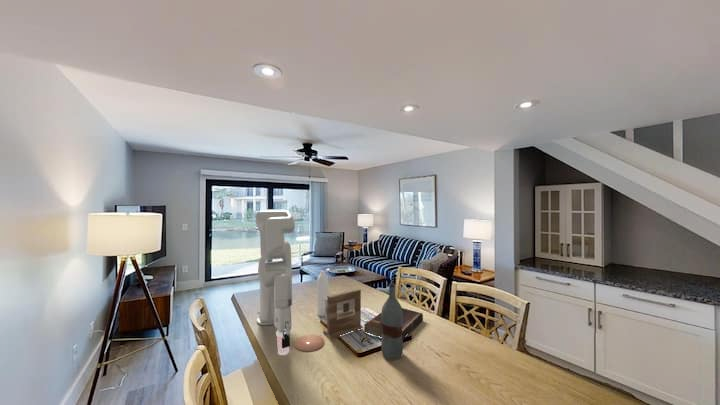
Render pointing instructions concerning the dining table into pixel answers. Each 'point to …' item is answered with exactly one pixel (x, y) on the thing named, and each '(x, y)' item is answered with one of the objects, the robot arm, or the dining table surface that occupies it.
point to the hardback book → (408, 325)
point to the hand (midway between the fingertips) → (283, 343)
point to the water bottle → (322, 292)
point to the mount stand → (342, 313)
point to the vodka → (392, 327)
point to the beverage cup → (279, 343)
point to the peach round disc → (309, 343)
